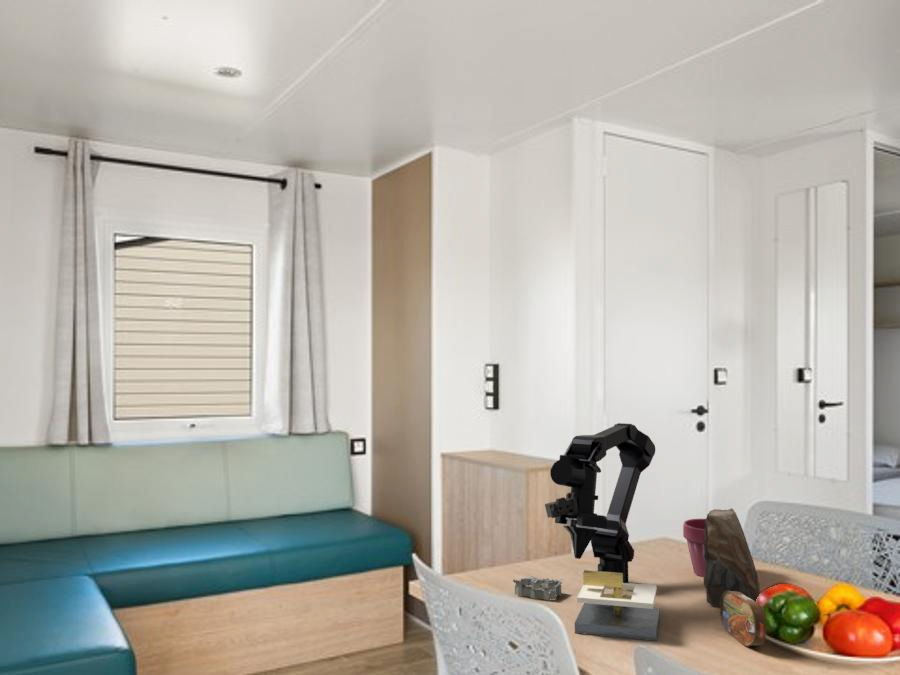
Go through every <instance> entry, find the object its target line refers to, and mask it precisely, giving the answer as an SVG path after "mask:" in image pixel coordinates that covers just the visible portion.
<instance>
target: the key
mask: <svg viewBox="0 0 900 675" xmlns="http://www.w3.org/2000/svg"><path fill="white" fill-rule="evenodd" d="M582 574H583V577H582V578H583V580H582V581H583V585H590V586H603V587H613V589H612V590H613V594H610V593H609V594H608V593H607V594H605V593H603V596H602V597H605V598H617V599H629V600H631V598H632V595H623V589H622V587H623V573H615V572H601V571H598V570H589V569H588V570H586V569H584V570H583V572H582ZM583 585H582V586H583ZM614 615H616V616H622V615H623V606H614Z"/></svg>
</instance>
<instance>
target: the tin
mask: <svg viewBox="0 0 900 675" xmlns="http://www.w3.org/2000/svg"><path fill="white" fill-rule="evenodd" d="M763 609H764V608H762V607H761V606H760V605H759V604H758V603H757V602H755V601H754V600H752V599H750V598H749V597H747V596H745V595H744V594H742V593H741V592H736V591H725V592H724V593H723V595H722V598H721V602H720V608H719V613H720V619H721V624H722V626H723V628H724V630H725V632H726V633H727V634H729V636H731V637H733V638H734V639H736V641H738V642H739V643H740V644H742V645H743V646H744V647H759V646H760V647H761V646H762V645H763V644H764V643H765V641H766V634H767V619H766V614H765V611H764V610H763Z"/></svg>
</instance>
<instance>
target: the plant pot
mask: <svg viewBox="0 0 900 675" xmlns="http://www.w3.org/2000/svg"><path fill="white" fill-rule="evenodd" d="M705 520H706V518H691V519H686V520H684V522H683V525H682V527H683V528H682V529H683V530H682V535H683V536H682V537H683V538H684V539H685V540H686V542H687V547H688V551H689V557H690V561H691V564H692V569H693V573H694V574H695V575H696V576H698V577H701V578H704V573H705V571H706V565H705V558H704V552H705V549H704V548H705V547H704V544H705V530H704V529H705V524H704V522H705Z"/></svg>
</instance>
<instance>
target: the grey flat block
mask: <svg viewBox="0 0 900 675" xmlns="http://www.w3.org/2000/svg"><path fill="white" fill-rule="evenodd" d="M660 620H661V610H660V608H659V607H658V608H656V607H654V608H653V609H649V608H637V607H625V606H623V615H622V616H616V615H614V606H613V605H602V604H590V603H582V606H581V608H580V610H579V613H578V615H577V617H576V619H575V622H574V633H575V634H581V633H585V634H584V635H592V634H594V635H593V636H602V635H604V636H603V637H614V638H622V639H623V638H625V639H635V640H642V641H643V640H645V641H657V640H658V633H659V632H658V631H659V627H660V626H659V625H660ZM595 634H596V635H595Z"/></svg>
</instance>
